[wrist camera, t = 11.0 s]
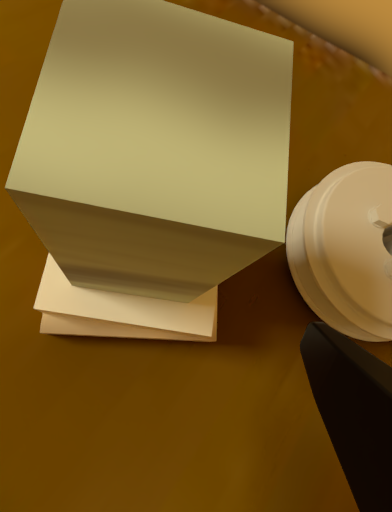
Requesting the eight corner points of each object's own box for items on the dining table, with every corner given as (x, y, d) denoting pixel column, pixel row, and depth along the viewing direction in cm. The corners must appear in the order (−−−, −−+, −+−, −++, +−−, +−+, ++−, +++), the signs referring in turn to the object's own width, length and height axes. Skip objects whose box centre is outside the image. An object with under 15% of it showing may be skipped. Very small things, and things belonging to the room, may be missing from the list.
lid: (303, 159, 28) (341, 120, 23) (434, 221, 29) (495, 196, 24) (259, 302, 24) (294, 291, 19) (413, 367, 25) (481, 372, 20)
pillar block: (187, 303, 18) (284, 242, 8) (71, 285, 17) (4, 188, 7) (200, 201, 20) (293, 41, 10) (95, 179, 19) (72, -29, 8)
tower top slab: (201, 337, 20) (211, 336, 18) (44, 313, 19) (33, 308, 17) (218, 202, 23) (230, 185, 21) (82, 171, 21) (77, 149, 19)
